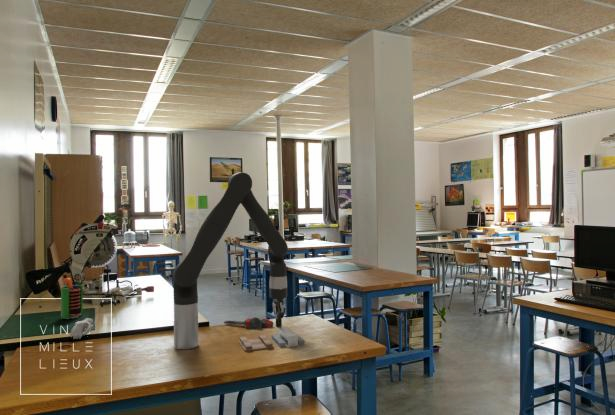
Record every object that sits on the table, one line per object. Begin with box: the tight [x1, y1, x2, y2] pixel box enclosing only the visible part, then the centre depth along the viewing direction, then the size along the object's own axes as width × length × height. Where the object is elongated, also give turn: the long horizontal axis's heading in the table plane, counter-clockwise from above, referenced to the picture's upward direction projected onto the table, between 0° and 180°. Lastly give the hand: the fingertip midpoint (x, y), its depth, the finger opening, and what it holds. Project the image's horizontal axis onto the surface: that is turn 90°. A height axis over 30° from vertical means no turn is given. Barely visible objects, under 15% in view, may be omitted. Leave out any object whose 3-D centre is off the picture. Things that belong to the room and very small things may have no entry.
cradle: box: [238, 334, 274, 353], centre depth 175 cm, size 13×11×3 cm
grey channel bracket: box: [270, 332, 306, 348], centre depth 179 cm, size 12×11×3 cm
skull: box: [69, 317, 94, 340], centre depth 194 cm, size 8×9×12 cm
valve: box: [223, 317, 274, 331], centre depth 208 cm, size 6×26×15 cm
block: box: [277, 325, 299, 348], centre depth 179 cm, size 14×4×4 cm, turn 19°
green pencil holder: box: [60, 277, 84, 318], centre depth 227 cm, size 10×9×20 cm
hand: (278, 327), depth 191 cm, fingers closed
